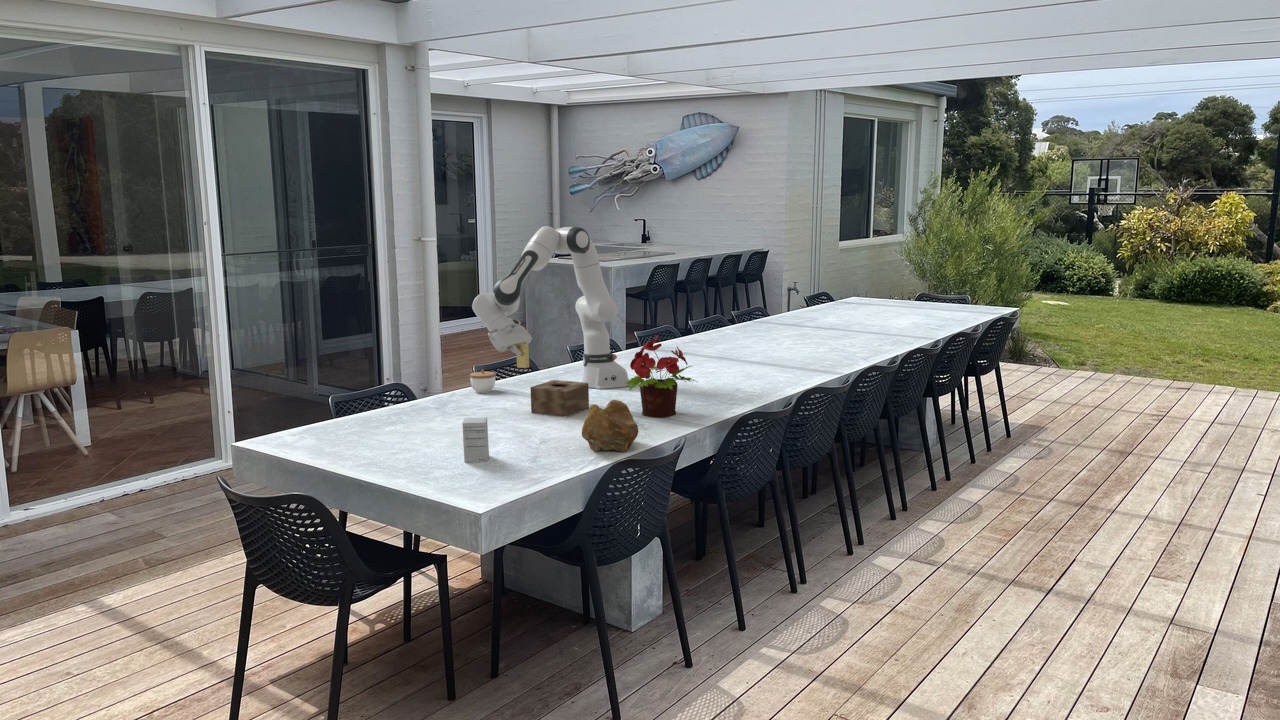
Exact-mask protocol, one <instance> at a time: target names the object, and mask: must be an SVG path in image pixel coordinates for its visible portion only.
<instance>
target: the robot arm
mask: <svg viewBox="0 0 1280 720" xmlns="http://www.w3.org/2000/svg"><path fill="white" fill-rule="evenodd" d="M554 255H570V256H571V258H572V264H573V265H572V266H573V269H574V274H575V278H576V284H577V286H578V288H579V289H580V291H581V292H582V294H583V295H582V296H580V297H578V298H577V300H576V302H575V312H576V313H577V316H578V317H579V321H580V324H581V329H582V334H583V350H584V352H583V355H582V361H583V362H582V363H583V375H582V381H581V382H584V383H588V386H589V389H590V388H592V389H598V390H605V389H606V390H607V389H615V388H623V387H631V386H632V385H628V384H626V382H627V381H629V379H630V378H629V374H628V371H627V370H626V369H625V368H624V367H623V366H622V365H621V364H619V363H618V362H617V361H615V360H616V359H617V358H618V355H616V354H615V353H613V352H611V351H610V350H611V347H610V343H611V342H610V340H611V339H610V338H611V337H610V333H609V331H608V329H607V327H606V323H608V322H611V321H613V320H615V318H616V316H617V315H618V306H617V304H616V303H615V301H614V300H613V298H612V297H611V294H610V293H609V290H608V288H607V285H606V282H605V281H604V277H603V273H602V268H601V262H600V259H599V254H598V251H597V249H596V246H595V244H594V242H593V240H591V239H590V235H589V234H588V232H587V230H586V229H585V228H583V227H581V226H580V227H579V226H564V227H560V228H554V227H552V226H547V225H545V226H542V227H540V228H539V229H538V230H537V231H536V232H535V233H534V234H533V235H532V237H531V238H530V239H529V241H528V242H527V244H526V245H525V247H524V248H523V250H522V252H521V256H519V258H518V260H517V261H516V263H515V264H514V266H513V267H512V268H511V269H510V271H509V273H507V274H506V275H505V276H503V277H502V278H501V279H499V280H498V281H496V283H495V284H494V286H493V292H481V293H479V294H477V295H476V296H475V297H474V299H473V301H472V304H471V308H472V311H473V312H474V314H475V315H476V317H477V318H478V320H479V321H480V322H481V323H482V324H484V325H485V326H486V329H487V330H488V333H487V336H488V337H489V340H490V342H491V344H492V345H493V347H494V348H495V350H496V351H498V352H500V353H503V352H506V351H509V350H510V351H511V352H512V353H514V354H515V355H516V357H517V356H518V357H520V356H522V355H523V353H522V351H521V350H520V351H519V350H518V349H517V348H516V344H528V345H529V344H530V343H531V342H532V340H533V338H532V335H531V334H530V333H529V332H528V331H527V329H526V328H525V327H524V326H522V325H521V324H522V323H521V322H520V320H519V319H514V318H510V316H511V315H513V314H514V313H516V312H517V311H518V309H519V307H520V301H521V300H520V296H521V288H522V284H523V283H524V281H525V279H527V277H528V275H529V274H530V272H531V271H535V272H536V271H537V272H538V271H542V270H543V269H544V268H545V267H546V266H547V265H548V264H549V262H550V261H551V259H552V257H553V256H554ZM626 385H628V386H626Z"/></svg>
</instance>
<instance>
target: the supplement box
mask: <svg viewBox="0 0 1280 720" xmlns="http://www.w3.org/2000/svg"><path fill="white" fill-rule="evenodd" d="M488 426H489V425H488V417H485V416H481V417H465V418H463V421H462V438H463V439H462V441H463V456H464V457H463V458H464V459H463V460H464V463H481V462H482V463H483V462H488V461H489V457H490V450H489V430H488V428H489V427H488Z"/></svg>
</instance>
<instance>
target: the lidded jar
mask: <svg viewBox="0 0 1280 720" xmlns="http://www.w3.org/2000/svg"><path fill="white" fill-rule="evenodd" d="M484 370H485V369H481V371H476V372H475V371H474V372H471V373H470V374H469V378H470V385H471V387H472V389H473V390H474V391H475V392H476V393H477V392H478V394H484V393H485V394H486V393H490V392H491V391H492V390H493V389H494V387H495V385H496V375H497V374H496V372H494V371H484Z"/></svg>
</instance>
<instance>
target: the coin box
mask: <svg viewBox="0 0 1280 720" xmlns="http://www.w3.org/2000/svg"><path fill="white" fill-rule="evenodd" d="M589 389H590V388H589V386H588V383H584V382H582V381H571V380H561V379H560V380H557V379H551V380H549V381H548V380H547V381H545V382H542V383H539V384H536V385H533V386H530V409H531V411H530V412H531V414H537V415H545V414H546V415H545V416H548V415H549V416H554V415H555V416H557V417H564V416H566V417H567V418H568V417H571V416H574V415H576V414H578V413H581V412H583V411H586V410H589V408H590V401H589V400H590V393H589V391H590V390H589ZM585 409H586V410H585ZM580 411H581V412H580ZM575 413H576V414H575ZM570 415H571V416H570ZM566 417H565V418H566Z"/></svg>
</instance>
